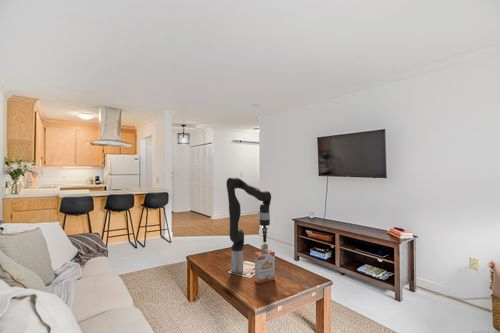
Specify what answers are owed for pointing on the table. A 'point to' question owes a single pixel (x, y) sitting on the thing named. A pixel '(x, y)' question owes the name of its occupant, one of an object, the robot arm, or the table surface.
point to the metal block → (264, 247)
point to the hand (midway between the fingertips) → (264, 240)
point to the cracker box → (264, 266)
